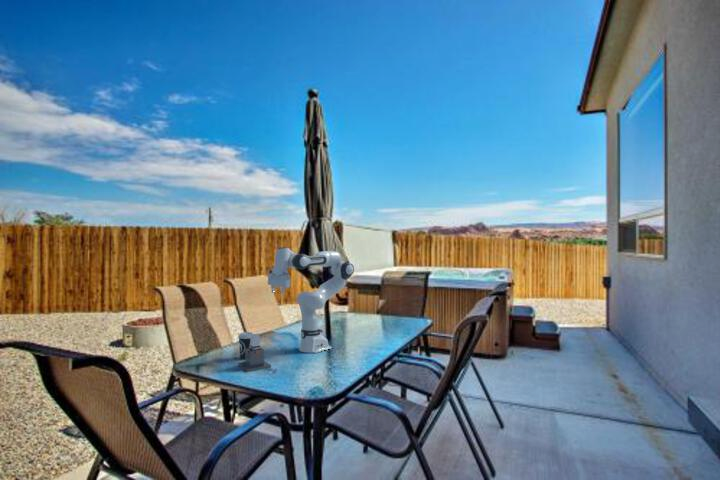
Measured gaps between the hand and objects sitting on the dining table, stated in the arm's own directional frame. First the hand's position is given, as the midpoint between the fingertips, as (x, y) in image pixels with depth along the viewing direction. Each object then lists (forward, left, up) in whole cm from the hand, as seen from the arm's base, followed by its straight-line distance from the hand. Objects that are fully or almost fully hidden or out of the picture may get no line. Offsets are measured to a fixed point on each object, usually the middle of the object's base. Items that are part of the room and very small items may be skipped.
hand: (277, 293), depth 231 cm
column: (+19, +13, -38) cm, 44 cm away
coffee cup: (+17, -7, -40) cm, 44 cm away
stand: (+19, +12, -40) cm, 46 cm away
